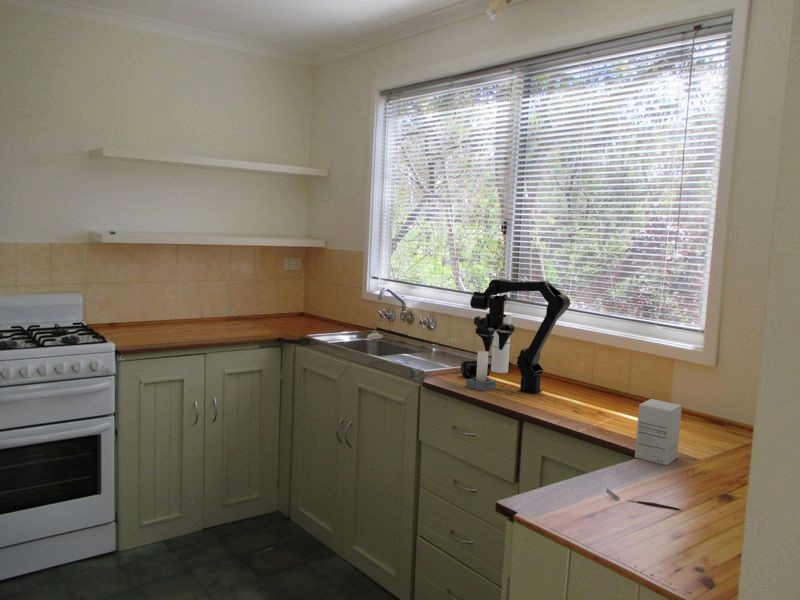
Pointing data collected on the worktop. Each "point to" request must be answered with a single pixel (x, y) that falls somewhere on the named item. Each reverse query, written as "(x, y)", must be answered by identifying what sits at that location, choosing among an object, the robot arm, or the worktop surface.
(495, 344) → the cylindrical container
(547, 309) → the robot arm
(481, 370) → the white tapered peg
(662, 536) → the worktop surface
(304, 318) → the worktop surface
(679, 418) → the supplement box
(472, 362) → the end cap
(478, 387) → the square frame
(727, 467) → the worktop surface
